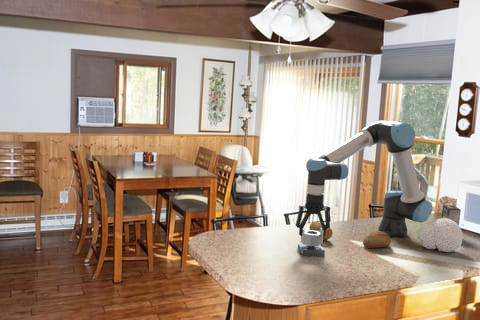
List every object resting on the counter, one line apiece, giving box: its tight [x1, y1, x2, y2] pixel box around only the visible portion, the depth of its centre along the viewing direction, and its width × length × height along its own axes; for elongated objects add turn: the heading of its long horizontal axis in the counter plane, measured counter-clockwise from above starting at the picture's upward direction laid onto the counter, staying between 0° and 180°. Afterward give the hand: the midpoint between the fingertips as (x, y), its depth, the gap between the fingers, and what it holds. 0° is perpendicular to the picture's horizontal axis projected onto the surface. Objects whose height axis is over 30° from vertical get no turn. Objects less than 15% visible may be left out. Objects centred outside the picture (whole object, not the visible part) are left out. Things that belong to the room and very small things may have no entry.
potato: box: [309, 221, 334, 241], centre depth 237 cm, size 10×14×8 cm
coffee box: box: [441, 204, 462, 226], centre depth 255 cm, size 9×6×16 cm
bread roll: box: [362, 230, 392, 249], centre depth 229 cm, size 10×15×8 cm, turn 113°
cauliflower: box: [417, 217, 464, 253], centre depth 229 cm, size 20×18×16 cm
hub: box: [304, 229, 322, 246], centre depth 214 cm, size 8×8×5 cm
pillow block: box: [297, 243, 326, 258], centre depth 215 cm, size 10×9×8 cm
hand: (311, 242), depth 214 cm, fingers closed on hub, 8 cm apart
